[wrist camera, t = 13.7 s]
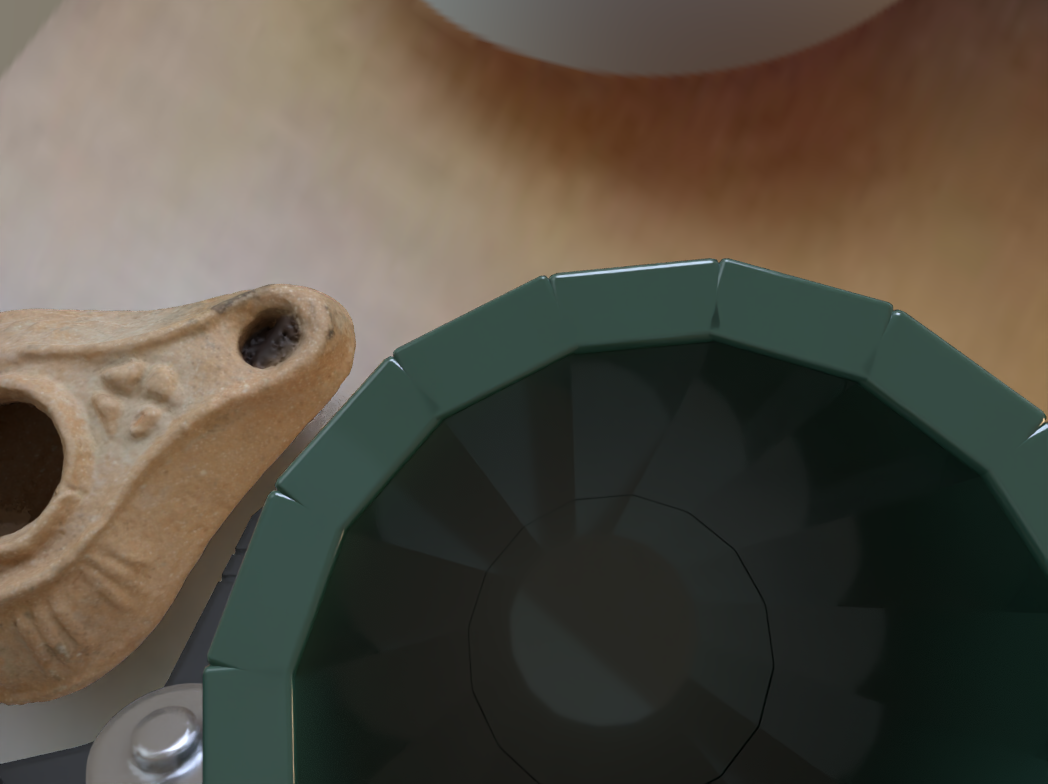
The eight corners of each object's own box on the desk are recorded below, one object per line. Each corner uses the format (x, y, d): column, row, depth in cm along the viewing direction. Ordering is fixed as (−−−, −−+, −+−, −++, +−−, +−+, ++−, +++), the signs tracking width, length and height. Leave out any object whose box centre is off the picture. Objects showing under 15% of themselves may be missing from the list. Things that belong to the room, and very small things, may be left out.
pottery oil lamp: (452, 474, 23) (335, 607, 16) (109, 624, 26) (-102, 783, 20) (284, 156, 22) (82, 158, 15) (-51, 360, 25) (-331, 434, 19)
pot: (391, 764, 15) (41, 1077, 5) (503, 425, 16) (391, 161, 6) (745, 892, 14) (1111, 1540, 4) (835, 528, 15) (1281, 406, 6)
